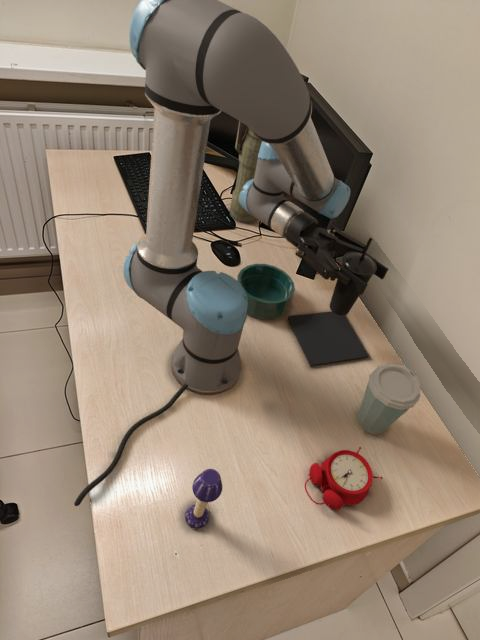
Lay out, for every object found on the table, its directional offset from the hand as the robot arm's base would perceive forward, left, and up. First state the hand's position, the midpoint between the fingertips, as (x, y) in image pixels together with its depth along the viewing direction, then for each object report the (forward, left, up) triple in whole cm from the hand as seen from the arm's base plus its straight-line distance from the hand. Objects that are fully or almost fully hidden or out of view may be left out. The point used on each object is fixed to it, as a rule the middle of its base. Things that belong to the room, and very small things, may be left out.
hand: (375, 281), depth 98 cm
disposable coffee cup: (-19, -7, -23) cm, 31 cm away
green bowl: (+11, +22, -22) cm, 33 cm away
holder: (+3, +4, -22) cm, 23 cm away
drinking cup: (+3, +4, -12) cm, 13 cm away
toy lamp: (-48, +25, -22) cm, 59 cm away
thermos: (+47, +33, -22) cm, 61 cm away
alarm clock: (-36, 0, -22) cm, 43 cm away
